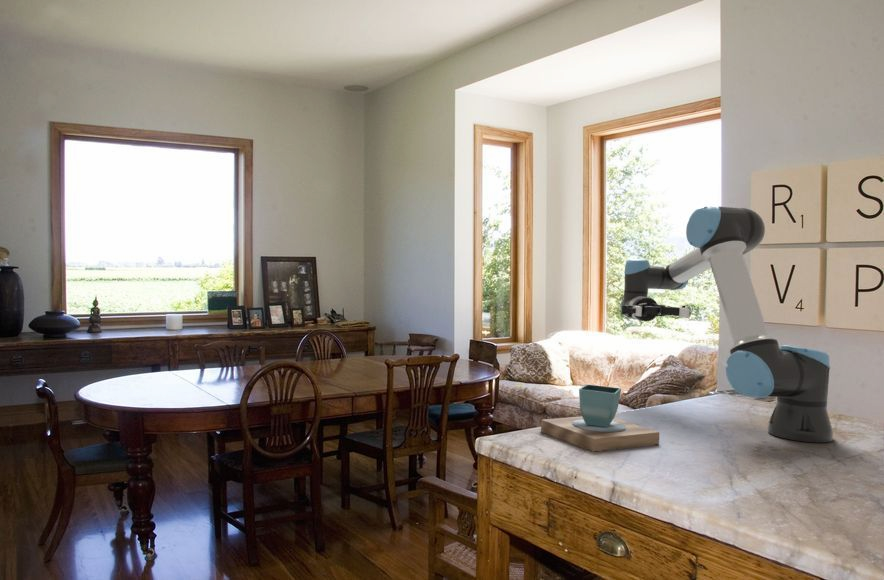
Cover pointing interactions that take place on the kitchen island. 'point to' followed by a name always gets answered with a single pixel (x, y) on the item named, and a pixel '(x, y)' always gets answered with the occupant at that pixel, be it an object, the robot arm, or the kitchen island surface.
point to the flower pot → (599, 404)
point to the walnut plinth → (599, 433)
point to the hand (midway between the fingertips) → (664, 312)
